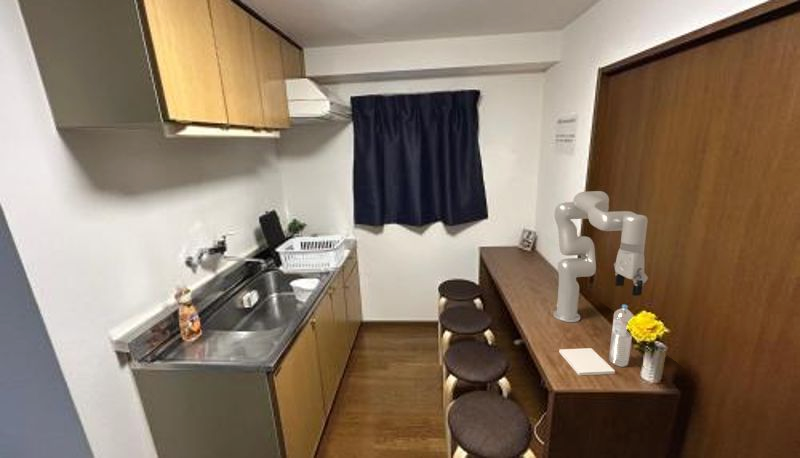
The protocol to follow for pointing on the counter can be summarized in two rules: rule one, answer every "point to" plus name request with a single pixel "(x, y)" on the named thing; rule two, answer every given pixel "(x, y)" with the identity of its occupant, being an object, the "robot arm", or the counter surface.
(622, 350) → the water bottle
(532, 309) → the counter surface
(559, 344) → the counter surface
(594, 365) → the board
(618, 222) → the robot arm
